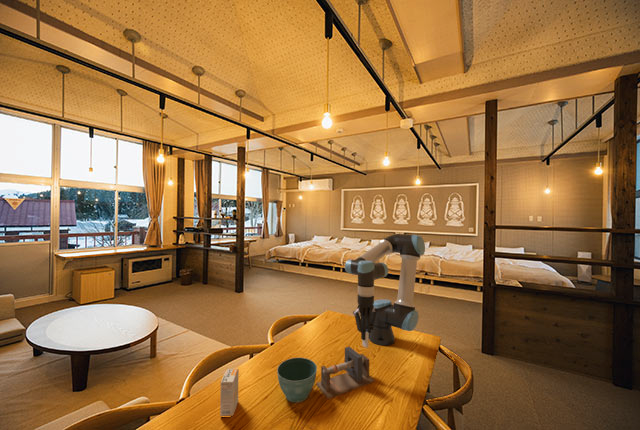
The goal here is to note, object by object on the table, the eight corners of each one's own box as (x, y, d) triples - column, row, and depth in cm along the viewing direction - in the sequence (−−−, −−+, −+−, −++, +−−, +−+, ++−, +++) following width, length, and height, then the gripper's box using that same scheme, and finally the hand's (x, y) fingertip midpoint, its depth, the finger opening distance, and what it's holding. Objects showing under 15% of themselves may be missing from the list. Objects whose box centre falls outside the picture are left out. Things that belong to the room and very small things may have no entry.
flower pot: (301, 416, 92) (301, 386, 92) (268, 399, 100) (268, 371, 100) (324, 390, 105) (324, 364, 106) (293, 378, 114) (293, 353, 114)
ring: (349, 368, 117) (349, 346, 118) (362, 380, 109) (362, 356, 109) (344, 369, 116) (344, 347, 117) (357, 381, 107) (357, 358, 108)
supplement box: (226, 402, 98) (226, 368, 99) (238, 401, 99) (239, 368, 99) (219, 418, 90) (219, 381, 90) (233, 418, 91) (233, 381, 91)
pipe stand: (360, 369, 121) (360, 350, 121) (374, 381, 112) (374, 360, 112) (316, 384, 109) (316, 363, 109) (327, 399, 100) (327, 376, 101)
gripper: (371, 291, 123) (371, 339, 122) (349, 294, 117) (349, 345, 116) (382, 295, 116) (381, 346, 116) (359, 298, 110) (358, 353, 109)
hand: (365, 346), depth 116 cm, fingers closed
